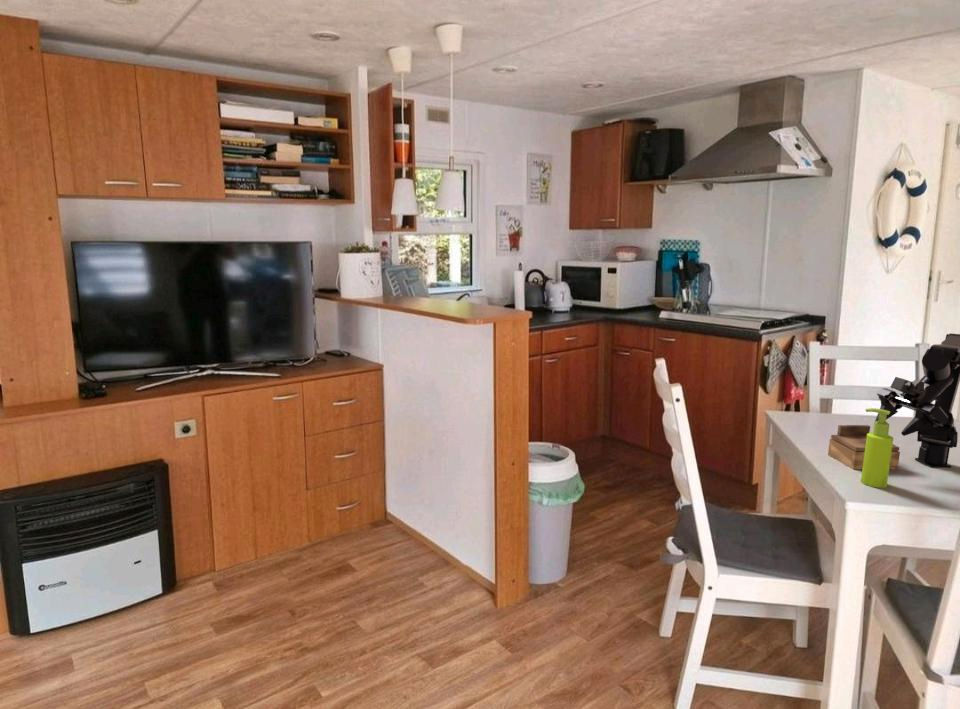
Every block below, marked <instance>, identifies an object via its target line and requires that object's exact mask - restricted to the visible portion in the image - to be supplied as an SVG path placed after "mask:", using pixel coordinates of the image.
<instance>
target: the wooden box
mask: <svg viewBox="0 0 960 709" xmlns="http://www.w3.org/2000/svg"><path fill="white" fill-rule="evenodd" d="M864 454H865V451H855V450H853V449H851V448H849V447H847V446H845V445H843V444H841V443H840V442H838V441H836V440H834V439H832V438H830V439H829V442H828V450H827V456H829V457H831V458H832V459H834V460H836V461H838V462H840V463H841V464H843V465H845V466H847V467H849V468H850V469H852V470H862V469H863V462H864ZM900 454H901V451H900V450H899V451H892V452H891V460H890V467H889V470H899V462H900Z"/></svg>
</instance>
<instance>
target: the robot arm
mask: <svg viewBox="0 0 960 709" xmlns="http://www.w3.org/2000/svg"><path fill="white" fill-rule="evenodd" d="M921 364H922V370H923V377H922V378H921V379H919V380H918V379H914V380H912V381H910V380H907V379H905V378H902V377H898V376H895V377H894V379H893V380H892V383H891V385H890V387H889V388H891V389H889V388H883V387H882V388H880V389H879V391H877V393H876V395H877V397H878V400H879V401H880V407H879V409H882V410H887V411H890V414H889V415H887V418H886V421H887V420H888V419H890V418H891V417H892V416H894V415H896V414H898V412H899V411H898V410H900V409H902V408H903V407H904V408H907V409H909V410H912V411H915V416H914V417H912V419H911V420H910V421H909V423H908V424H906V426H905V427H904V428H903V430H902V431H901V433H900V434H901V435H902V436H904V437H905V436H909V435H911V434H913V433H917V437H916V438H917V440H916V441H917V442H918V443H919V442H920V443H921V444H920V446H919V450H918V455H917V457H914V460H915V461H916V462H917V461H918V462H919V463H922V464H923V465H925V466H928V467H930V468H952V464H950V463H948V461H949V455H950V451H951V450H950V449H953V448H957V447H958V446H957V445H958V440H959V439H958V437H959V433H958V431H957V427H956V426H955V418H954V416H953V413H952V411H953V407H954V403H955V400H956V395H957V393H958V392H957V391H958V389H959V385H960V333H947V334H946V335H945V339H944V340H943V341H941V343H940V344H939V343H938V344H937V343H936V344H932V345H930V347H929V348H927V349H926V351H925V352H924V355H923V356H922V358H921ZM893 389H895V390H897V391H898V392H899V393H897V392H896V391H895V390H893ZM901 397H903V398H901ZM878 420H879V413H877V415H876V417H875V420H874V422H875V421H878Z"/></svg>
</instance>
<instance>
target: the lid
mask: <svg viewBox="0 0 960 709" xmlns="http://www.w3.org/2000/svg"><path fill="white" fill-rule="evenodd" d="M870 430H871V426H870V425H869V424H839V425H838V426H837V434H831V435H830V439H834V440H836V441H838V442H840V443H841V444H843V445H845V446H847V447H849V448H851V449H853V450H855V451H865V446H866V439H867V434H868V433H871V431H870ZM892 451H899V452H900V447H899V446H898V445H896V444H893V445H892Z"/></svg>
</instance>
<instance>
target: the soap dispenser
mask: <svg viewBox="0 0 960 709" xmlns="http://www.w3.org/2000/svg"><path fill="white" fill-rule="evenodd" d="M865 412H867V413H870V412H871V413H877V414H878V413H879V420H878V421H875V420H874V423H873V430H872V432H869V433H868V434H867V439H866V446H865V454H864V462H863V469H861V471H862V472H861V478H860V482H861V483H862V484H863V485H866V486H868V487H873V488H878V489H879V488H881V489H883V488H886V487H888V481H889V473H890V469H889V467H890V460H891V452H892V445H894V436H891V435H889V432H890V431H889V430H890V423H888V422H887V420H886V418H887V415H889V414H890V411H887V410H882V409H880V408H872V407H871V408H866V409H865Z"/></svg>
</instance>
